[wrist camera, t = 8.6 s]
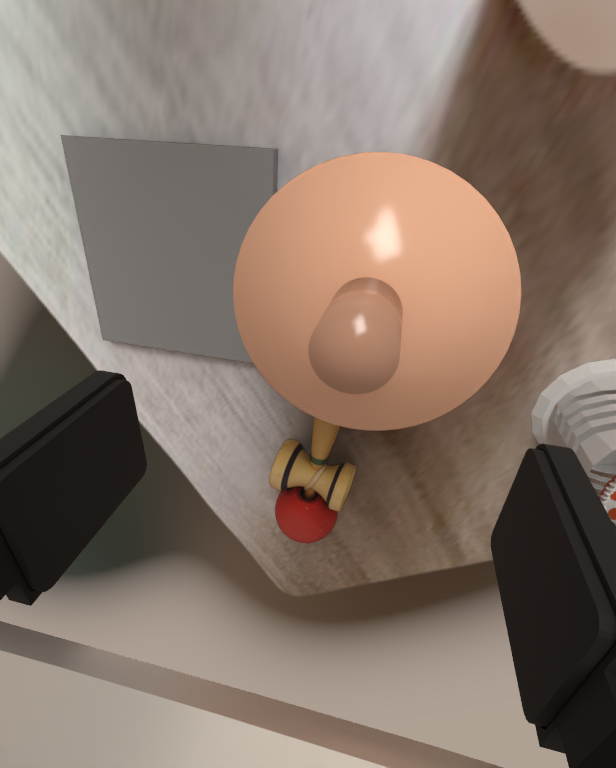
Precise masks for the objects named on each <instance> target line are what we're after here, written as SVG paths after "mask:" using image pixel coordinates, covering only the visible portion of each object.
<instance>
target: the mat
mask: <svg viewBox="0 0 616 768" xmlns="http://www.w3.org/2000/svg"><path fill="white" fill-rule="evenodd" d="M61 139H62V144H63V148H64V153H65V158H66V163H67V168H68V173H69V178H70V182H71V187H72V192H73V197H74V202H75V207H76V212H77V216H78V221H79V226H80V231H81V236H82V241H83V246H84V250H85V255H86V260H87V265H88V270H89V275H90V280H91V284H92V289H93V294H94V299H95V304H96V309H97V314H98V318H99V323H100V328H101V333H102V338H103V340H107V341H113V342H120V343H126V344H133V345H139V346H145V347H152V348H158V349H165V350H171V351H177V352H184V353H190V354H197V355H203V356H210V357H216V358H222V359H229V360H235V361H242V362H248V363H253V362H252V360H251V358H250V356H249V354H248V352H247V350H246V348H245V346H244V344H243V341H242V338H241V335H240V333H239V330H238V325H237V321H236V317H235V310H234V300H233V284H234V274H235V268H236V262H237V258H238V255H239V252H240V248H241V245H242V243H243V240H244V238H245V236H246V234H247V231H248V229H249V227H250V226H251V224H252V223H253V221H254V219H255V218H256V216H257V214H258V213H259V211H260V210H261V209H262V208H263V207H264V205H265V204H266V203H267V202H268V201H269V199H270V198H271V197H272V196H273V195H274V194H275V193H276V192H277V161H278V149H271V148H255V147H240V146H224V145H208V144H192V143H176V142H160V141H144V140H128V139H112V138H97V137H81V136H65V135H61Z"/></svg>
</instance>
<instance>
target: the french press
mask: <svg viewBox="0 0 616 768" xmlns="http://www.w3.org/2000/svg"><path fill="white" fill-rule="evenodd" d="M531 418H532V432H533V435H534V437H535V438H536V440H537V441H538V443H539V444H542V443H543V444H549V445H555V446H561V447H568V448H571V449H573V451H574V452H575V454H576V455H577V457H578V459H579V461H580V463H581V465H582V467H583V469H584V470H585V472H586V474H587V476H588V477H589V478H592V479H595V480H598V481H601V482H604V483H607V484H606V485H605V487H604V486H601V485H598V484H595V483H593V482H591V483H592V485H593V487H594V489H597V490H600V491H602V492H601V493H600V495H599V494H597V495H598V496H599V498H600V500H601V502H602V504H603V506H604V508H605V510H606V511H607V513H608V515H609V517H610V519H611V521H612V522H613V523H615V525H616V476H615V477H614V478H612V479H611V478H607V477H603V476H599V475H596V474H593V473H589V472H590V471H591V469H592V470H595V471H598V472H603V473H608V474H613V475H616V359H610V360H603V361H596V362H589V363H586V364H583V365H581V366H579V367H577V368H575V369H573V370H571V371H568V372H566V373H564V374H562V375H560V376H559V377H558V378H557V379H556V380H554V381H553V382H552V383H551V384H550V385H549V386H548V387H547V388H546V389H545V390H544V391H543V392H542V393H541V394H540V396H539V398H538V400H537V402H536V405H535V407H534V409H533V411H532V414H531Z"/></svg>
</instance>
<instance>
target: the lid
mask: <svg viewBox="0 0 616 768" xmlns="http://www.w3.org/2000/svg"><path fill="white" fill-rule="evenodd" d="M233 300H234V310H235V317H236V321H237V325H238V330H239V333H240V335H241V338H242V341H243V344H244V346H245V348H246V350H247V352H248V354H249V356H250V358H251V360H252V362H253V363H254V365H255V366H256V368H257V369H258V371H259V372H260V374H261V375H262V376H263V377H264V378H265V380H266V381H267V382H268V383H269V384H270V385H271V386H272V387H273V388H274V389H275V390H276V391H277V392H278V393H279V394H280V395H281V396H282V397H283V398H285V399H286V400H287V401H289V402H290V403H291V404H293V405H294V406H296V407H297V408H299V409H301V410H302V411H304V412H305V413H307V414H309V415H311V416H314V417H316V418H318V419H320V420H323V421H325V422H328V423H331V424H334V425H338V426H342V427H346V428H351V429H359V430H373V431H384V430H394V429H402V428H406V427H411V426H416V425H419V424H422V423H425V422H428V421H431V420H433V419H435V418H437V417H439V416H442V415H444V414H446V413H448V412H449V411H451V410H453V409H454V408H456V407H457V406H459V405H461V404H462V403H463V402H465V401H466V400H467V399H468V398H470V397H471V396H472V395H473V394H475V393H476V392H477V391H478V390H479V389H480V388H481V387H482V386H483V385H484V384H485V382H486V381H487V380H488V379H489V378H490V376H491V375H492V374H493V373H494V371H495V370H496V369H497V367H498V366H499V364H500V362H501V361H502V359H503V357H504V355H505V354H506V352H507V350H508V348H509V345H510V343H511V340H512V338H513V335H514V333H515V329H516V325H517V321H518V317H519V312H520V301H521V279H520V270H519V265H518V260H517V256H516V252H515V249H514V247H513V244H512V241H511V238H510V236H509V233H508V232H507V230H506V228H505V226H504V224H503V223H502V221H501V219H500V217H499V215H498V214H497V213H496V212H495V210H494V209H493V208H492V206H491V205H490V204H489V203H488V201H487V200H486V199H485V198H484V197H483V196H482V195H481V194H480V193H479V192H478V191H477V190H476V189H475V188H473V187H472V186H471V185H470V184H469V183H468V182H466V181H465V180H463V179H462V178H460V177H459V176H457V175H456V174H454V173H453V172H451V171H450V170H448V169H446V168H443V167H441V166H439V165H437V164H435V163H433V162H431V161H427V160H424V159H421V158H417V157H414V156H410V155H405V154H397V153H390V152H364V153H358V154H352V155H346V156H341V157H338V158H335V159H332V160H329V161H326V162H323V163H320V164H318V165H316V166H314V167H312V168H310V169H308V170H306V171H304V172H302V173H301V174H299V175H298V176H297V177H295V178H294V179H292V180H291V181H289V182H288V183H286V184H285V185H284V186H283V187H282V188H281V189H280V190H279V191H277V192H276V193H275V194H274V195H273V196H272V197H271V198H270V199H269V201H268V202H267V203H266V204H265V205H264V207H263V208H262V209H261V210H260V211H259V213H258V214H257V216H256V218H255V219H254V221H253V223H252V224H251V226H250V227H249V229H248V231H247V234H246V236H245V238H244V240H243V243H242V245H241V248H240V252H239V255H238V258H237V262H236V268H235V274H234V284H233Z"/></svg>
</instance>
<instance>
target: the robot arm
mask: <svg viewBox="0 0 616 768" xmlns="http://www.w3.org/2000/svg"><path fill="white" fill-rule="evenodd" d="M146 466H147V462H146V457H145V452H144V446H143V442H142V437H141V431H140V426H139V421H138V416H137V411H136V406H135V401H134V396H133V391H132V387H131V384H130V382H128V381H126V378H125V377H124V375H122V374H119V373H113V372H107V371H96V372H94V373H93V374H91V375H90V376H89V377H87V378H86V379H84V380H83V381H81V382H80V383H79V384H77V385H76V386H74V387H73V388H72V389H70V390H69V391H67V392H66V393H65V394H63V395H62V396H60V397H59V398H57V399H56V400H54V401H53V402H52V403H50V404H49V405H47V406H46V407H45V408H44V409H42V410H40V411H39V412H38V413H36V414H35V415H33V416H32V417H30V418H29V419H28V420H26V421H25V422H24V423H22V424H21V425H19V426H18V427H16V428H15V429H13V430H12V431H11V432H9V433H8V434H6V435H5V436H4V437H2V438H1V439H0V600H1V599H2V598H3V597H4V596H5V595H7V597H8V599H9V600H12V601H15V602H19V603H23V604H26V605H30V606H31V605H32V604H33V603H34V602H35V600H36V599H37V598H38V597H39V595H40V594H41V593H42V592H45V591H48V590H49V589H50V588H52V587H53V586H54V584H55V583H56V582H57V581H58V580H59V578H60V577H61V576H62V575H63V573H64V572H65V571H66V570H67V568H68V567H69V566H70V565H71V564H72V562H73V561H74V560H75V559H76V558H77V556H78V555H79V554H80V552H81V551H82V550H83V549H84V548H85V547H86V545H87V544H88V543H89V542H90V540H91V539H92V538H93V537H94V536H95V534H96V533H97V532H98V531H99V529H100V528H101V527H102V526H103V525H104V523H105V522H106V521H107V520H108V518H109V517H110V516H111V515H112V513H113V512H114V511H115V510H116V509H117V507H118V506H119V505H120V504H121V503H122V501H123V500H124V499H125V498H126V496H127V495H128V494H129V493H130V492H131V490H132V489H133V488H134V487H135V485H136V484H137V483H138V482H139V481H140V479H141V478H142V477H143V475H144V473H145V471H146ZM491 551H492V556H493V561H494V566H495V570H496V575H497V581H498V585H499V591H500V596H501V601H502V606H503V611H504V616H505V621H506V626H507V630H508V636H509V641H510V646H511V651H512V656H513V661H514V667H515V672H516V677H517V682H518V687H519V692H520V697H521V702H522V707H523V711H524V715H525V717H526V719H527V721H528V722H529V723H532V724H535V726H536V731H537V736H538V740H539V745H540V747H543V748H547V749H551V750H554V751H558V752H561V753H565V754H566V757H567V761H568V765H569V768H616V525H615V523H613V522H612V521H611V519H610V517H609V515H608V513H607V511H606V510H605V508H604V506H603V504H602V502H601V500H600V498H599V496H598V495H597V493H596V491H595V489H594V487H593V485H592V483H591V482H590V480H589V478H588V476H587V474H586V472H585V470H584V469H583V467H582V465H581V463H580V461H579V459H578V457H577V455H576V454H575V452H574V451H573V449H571V448H568V447H561V446H555V445H549V444H543V443H542V444H539V445H538V446H537V447H536V449H532V448H530V449H528V450H527V452H526V453H525V456H524V458H523V461H522V463H521V465H520V468H519V470H518V472H517V475H516V477H515V480H514V482H513V484H512V487H511V489H510V492H509V494H508V496H507V499H506V501H505V503H504V506H503V508H502V511H501V513H500V515H499V518H498V520H497V523H496V525H495V527H494V530H493V532H492V536H491ZM0 768H502V767H499V766H496V765H493V764H490V763H486V762H483V761H480V760H477V759H474V758H470V757H467V756H464V755H461V754H458V753H454V752H451V751H448V750H445V749H442V748H438V747H435V746H432V745H428V744H425V743H422V742H418V741H414V740H411V739H408V738H405V737H401V736H398V735H394V734H391V733H387V732H384V731H381V730H377V729H374V728H370V727H367V726H364V725H360V724H357V723H353V722H350V721H347V720H343V719H340V718H336V717H333V716H329V715H326V714H323V713H319V712H316V711H312V710H309V709H305V708H302V707H298V706H295V705H292V704H288V703H285V702H282V701H278V700H275V699H271V698H268V697H264V696H261V695H258V694H254V693H251V692H247V691H244V690H240V689H237V688H233V687H230V686H226V685H222V684H219V683H216V682H212V681H209V680H205V679H202V678H198V677H195V676H192V675H188V674H184V673H181V672H177V671H174V670H171V669H167V668H163V667H160V666H157V665H153V664H149V663H146V662H142V661H139V660H136V659H132V658H129V657H125V656H121V655H118V654H115V653H111V652H107V651H104V650H101V649H97V648H94V647H90V646H86V645H83V644H79V643H75V642H72V641H69V640H65V639H62V638H58V637H54V636H51V635H47V634H44V633H40V632H37V631H33V630H30V629H26V628H22V627H19V626H15V625H12V624H8V623H5V622H1V621H0Z"/></svg>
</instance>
